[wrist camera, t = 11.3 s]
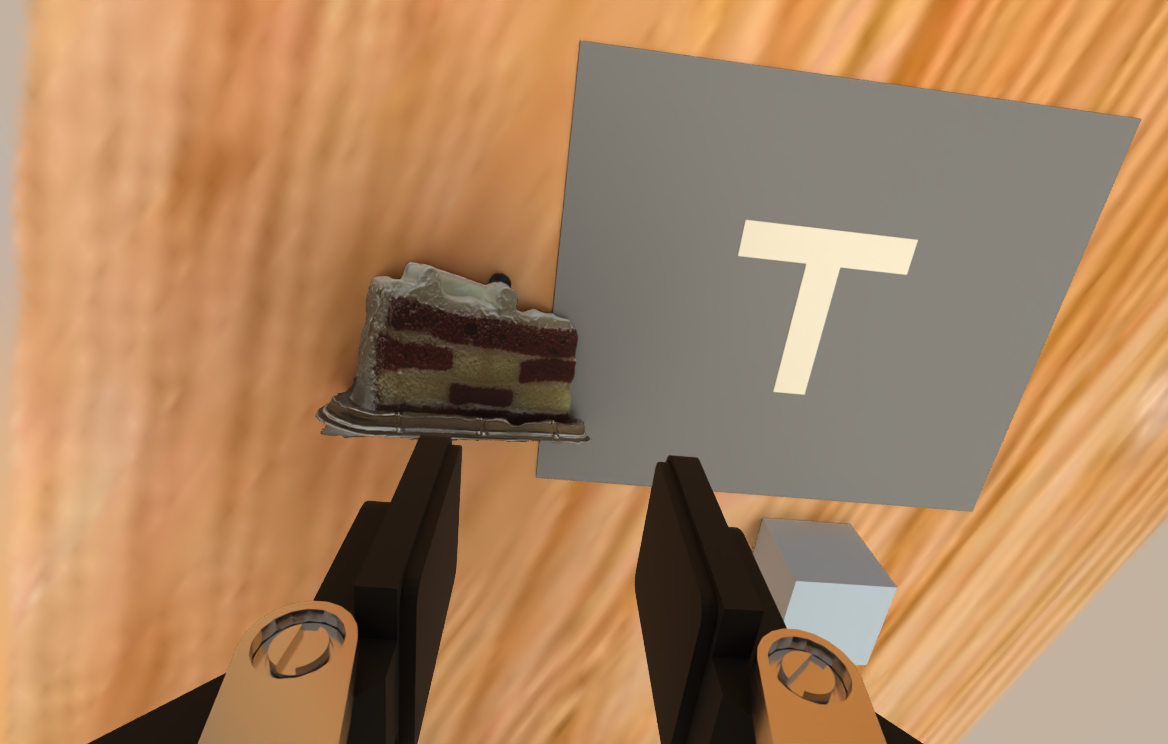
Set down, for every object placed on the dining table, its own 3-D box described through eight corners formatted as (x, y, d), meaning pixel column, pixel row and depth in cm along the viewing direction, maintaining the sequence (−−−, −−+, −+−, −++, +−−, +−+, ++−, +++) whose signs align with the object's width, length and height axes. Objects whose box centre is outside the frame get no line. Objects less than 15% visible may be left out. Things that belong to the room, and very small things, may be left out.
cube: (825, 593, 35) (866, 664, 30) (742, 588, 35) (771, 659, 30) (849, 523, 33) (897, 587, 28) (762, 516, 33) (796, 580, 28)
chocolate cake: (632, 297, 28) (413, 243, 18) (606, 444, 28) (381, 466, 19) (493, 279, 34) (274, 232, 24) (475, 402, 34) (254, 403, 25)
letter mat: (971, 510, 33) (972, 512, 33) (536, 476, 31) (536, 478, 31) (1139, 119, 25) (1142, 118, 25) (580, 40, 23) (580, 40, 23)
